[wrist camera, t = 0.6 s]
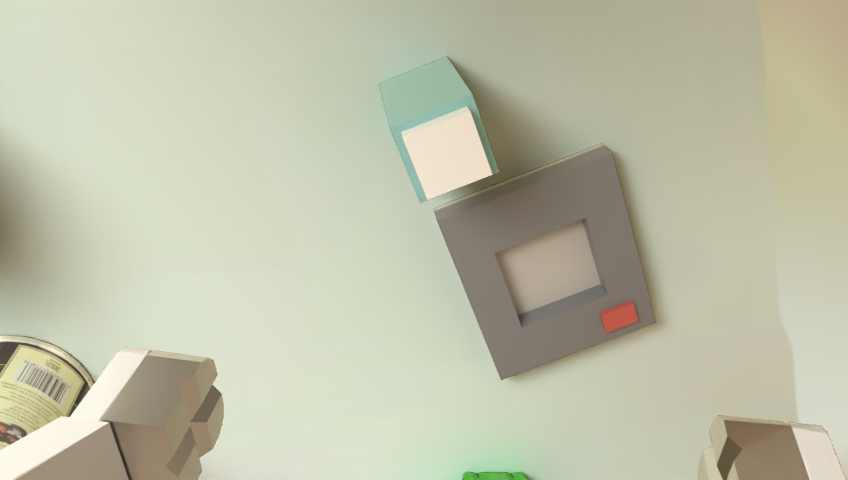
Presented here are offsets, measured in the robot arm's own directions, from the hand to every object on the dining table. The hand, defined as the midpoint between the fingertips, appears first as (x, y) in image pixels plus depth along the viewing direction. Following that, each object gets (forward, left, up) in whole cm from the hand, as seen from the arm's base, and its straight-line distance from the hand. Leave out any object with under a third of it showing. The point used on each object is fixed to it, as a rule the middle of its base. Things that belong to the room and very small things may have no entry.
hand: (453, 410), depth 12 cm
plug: (+6, +2, -35) cm, 36 cm away
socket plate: (+20, +6, -35) cm, 41 cm away
